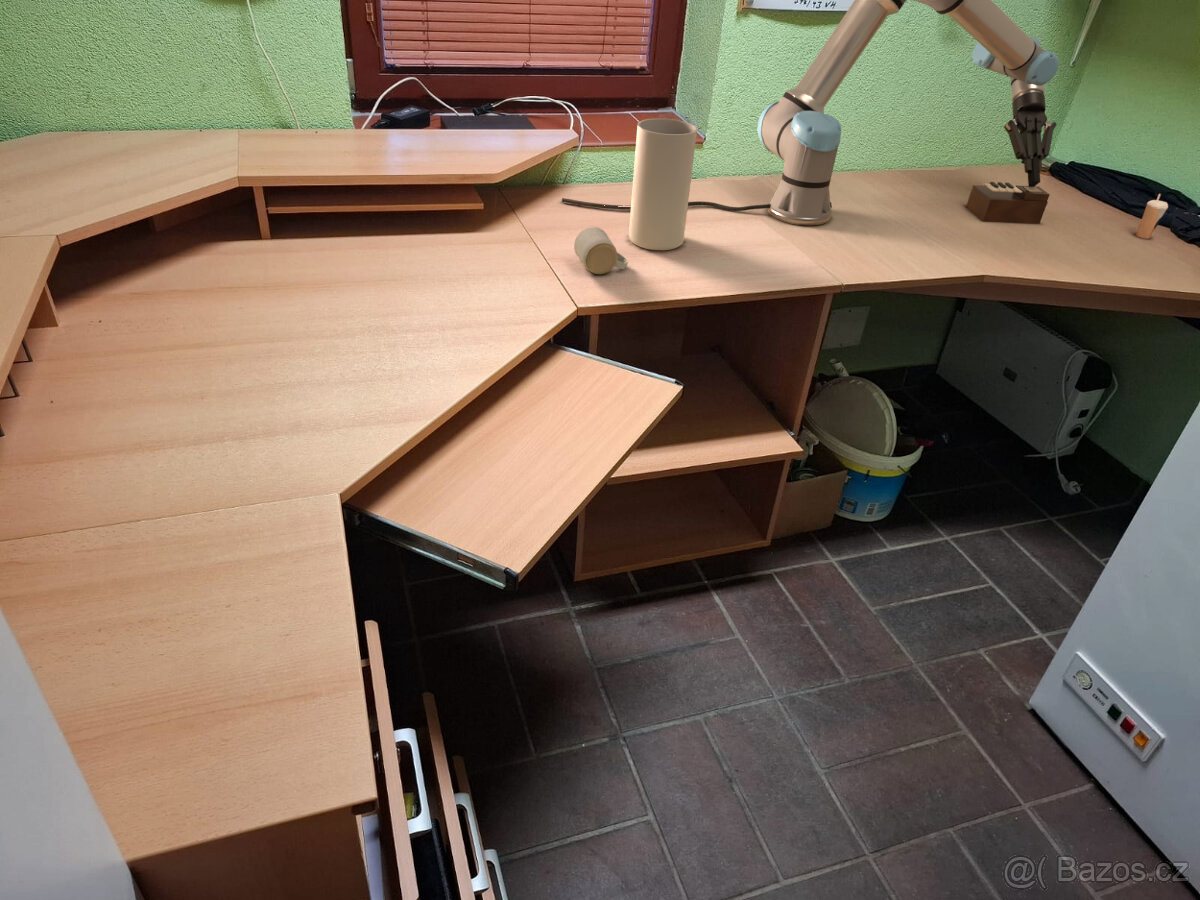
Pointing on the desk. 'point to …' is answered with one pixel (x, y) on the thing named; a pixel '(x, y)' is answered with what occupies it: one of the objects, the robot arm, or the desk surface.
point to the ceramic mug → (597, 251)
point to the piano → (1008, 205)
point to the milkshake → (1151, 217)
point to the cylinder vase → (661, 183)
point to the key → (1032, 189)
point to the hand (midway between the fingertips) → (1034, 184)
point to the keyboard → (1002, 187)
